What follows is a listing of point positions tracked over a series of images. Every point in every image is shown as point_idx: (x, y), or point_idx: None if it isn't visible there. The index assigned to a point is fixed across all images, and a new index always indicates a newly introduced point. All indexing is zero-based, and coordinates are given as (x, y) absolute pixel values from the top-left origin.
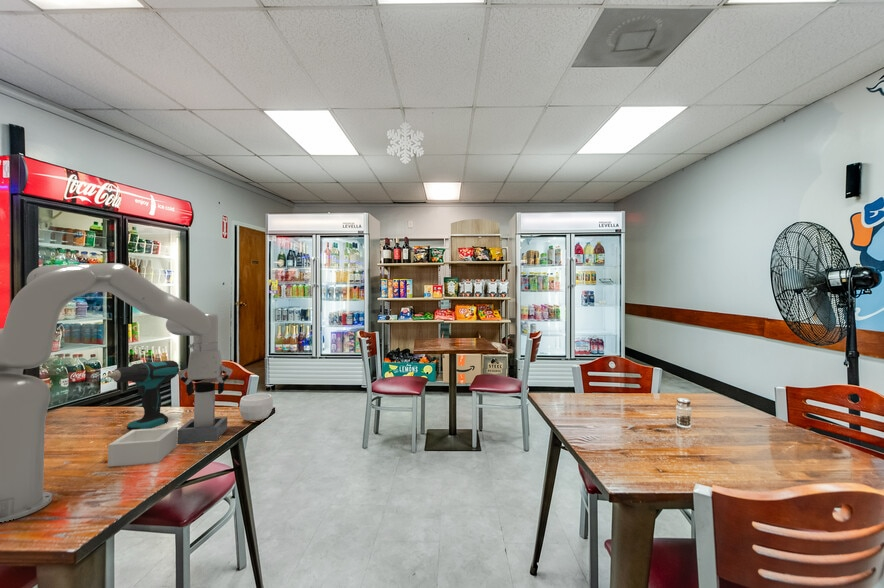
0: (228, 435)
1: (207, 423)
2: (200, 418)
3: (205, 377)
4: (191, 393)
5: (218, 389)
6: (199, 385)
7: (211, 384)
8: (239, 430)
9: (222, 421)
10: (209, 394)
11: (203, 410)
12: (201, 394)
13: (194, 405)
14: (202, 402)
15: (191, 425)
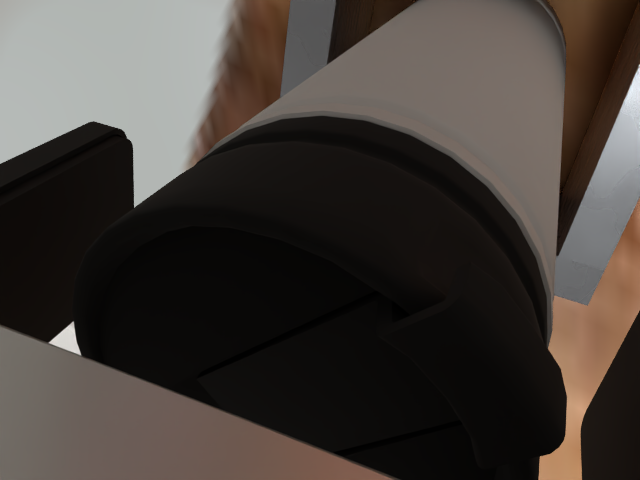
0: (284, 6)
1: (416, 4)
2: (482, 12)
3: (37, 392)
4: (621, 366)
5: (58, 156)
6: (388, 239)
7: (97, 242)
8: (223, 103)
9: (286, 66)
10: (254, 118)
11: (427, 27)
12: (398, 115)
13: (558, 164)
14: (415, 58)
15: (589, 168)
